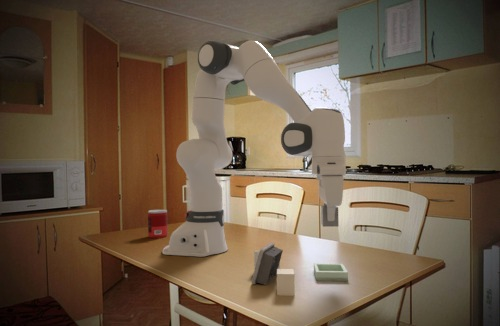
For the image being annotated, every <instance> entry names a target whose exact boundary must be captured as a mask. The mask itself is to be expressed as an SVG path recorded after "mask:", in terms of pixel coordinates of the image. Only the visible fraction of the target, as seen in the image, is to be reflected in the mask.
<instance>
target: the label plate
mask: <svg viewBox="0 0 500 326" xmlns="http://www.w3.org/2000/svg"><path fill="white" fill-rule="evenodd" d="M259 252H260V250H254V253H253V255H254V257H253V258H254V260H253V263H254V268H255V267H256V263H257V259H258V256H259ZM274 262H275V260H274ZM274 262H273V263H274ZM280 264H281V263H279V266H278V269H281V267H280V266H281V265H280Z"/></svg>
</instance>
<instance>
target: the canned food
mask: <svg viewBox="0 0 500 326" xmlns="http://www.w3.org/2000/svg"><path fill="white" fill-rule="evenodd" d="M147 226H148V227H147V229H148V231H147V235H148V238H150V239H162V238H163V237H164V238H166V237H168V209H150V210H148V211H147Z"/></svg>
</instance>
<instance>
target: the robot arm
mask: <svg viewBox="0 0 500 326" xmlns="http://www.w3.org/2000/svg"><path fill="white" fill-rule="evenodd" d="M197 63H198V66H199V68H200V70H199V71H198V72H197V74H196V78H195V83H194V88H193V95H192V96H193V97H192V117H191V119H192V123H193V125H194V126H195V128H196V129H197V130H196V131H197V133H198V138H192V139H188V140H185V141H183V142H181V143H180V144H179V145H178V147H177V149H176V152H175V153H176V155H175V157H176V161H177V163H178V165H179V166H180V167H181V168H182V169H183V171H184V173H185V176H186V178H187V181H188V185H189V190H190V191H189V192H190V209H189V210H187V211H186V213H185V214H184V218H185V222H183V223H182V224H180V225H179V226H178V228H175V230H174V231H173V232H172V233H171V234H170V237H169V241H168V245H166V246H165V247H163V249H162V254H163V255H164V256H165V255H166V256H167V255H168V256H169V255H171V256H184V257H185V256H186V257H198V258H199V257H201V258H202V257H208V256H211V255H216V254H221V253H224V252H227V251H228V250H229V249H228V245H227V242H226V241H227V240H226V236H225V230H224V229H225V228H224V226H225V211H224V208H223V187H222V186H221V184H220V183H219V182H218V180H217V179H218V178H217V176H216V173H215V171H219V170H223V169H224V168H226V167H228V166H229V165H230V164H231V162H232V161H233V157H234V156H233V150H232V148H231V147H230V145H229V142H228V140H227V139H228V138H227V136H226V129H225V128H226V127H225V107H226V106H225V105H226V103H225V100H226V89H227V86H228V85H229V84H231V85H234V86H235V85H238V84H239V83H243V82H245V84H246V86H247V87H248V89H249V90H250V91H251V92H252V94H253V95H255V97H257V98H258V99H260V100H263V101H264V102H267V103H270V104H273V105H275V106H276V107H279V108H280V109H282V110H283V111H284V112H286V113H287V115H288V116H289V117H290V118H291V120H292V121H293V122H290V123H288V124H287V125H286V126H285V127H284V128H283V130H282V132H281V135H280V143H281V144H280V145H281V147H282V148H283V150H284V152H285V153H287V154H288V155H290V156H294V157H311V174H312V175H316V181H318V198H319V199H320V200H321V201H322V203H323V204H322V206H327V220H328V221H334V220H335V209H336V206H337V207H338V206H339V207H340V206H341V205H342V203H343V196H344V195H343V193H344V176H346V174H347V167H346V166H347V165H346V153H345V142H346V130H345V128H346V127H345V121H344V119H345V118H344V116H343V113H342V112H341V111H340V110H339V109H336V108H332V107H325V106H324V107H322V106H320V107H315V108H313V109H312V110H311V107H310V106H309V105H308V104H307V103H306V101H305V100H304V99H303V97H302V96H301V95H300V94H299V93H298V92H297V90H296V89H295V87H293V85H292V84H291V82H290V81H289V80H288V78H287V77H286V76H285V75H284V73H283V72H282V70H281V69H280V66H278V64H277V62H276V60H275V59H274V57H273V56H272V55H271V54H270V53H269V51H268V50H267V49H266V48H265V47H264V46H263V45H262V44H261V43H260V42H258V41H256V40H247V41H245V42H243V43H242V44H241V45H239V46H236V45H233V44H228V43H224V42H222V41H219V40H208V41H205V42H204V43H203V44H202V45H201V47H200V48H199V50H198V53H197Z"/></svg>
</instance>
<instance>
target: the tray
mask: <svg viewBox="0 0 500 326" xmlns="http://www.w3.org/2000/svg"><path fill="white" fill-rule="evenodd" d="M313 273H314V276H315V280H316V281H319V282H320V281H321V282H322V281H324V282H325V281H326V282H328V281H329V282H330V281H331V282H333V281H334V282H337V281H338V282H345V281H346V282H348V281H349V272H348V269H347V268H346V267H345V265H344V263H313Z"/></svg>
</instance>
